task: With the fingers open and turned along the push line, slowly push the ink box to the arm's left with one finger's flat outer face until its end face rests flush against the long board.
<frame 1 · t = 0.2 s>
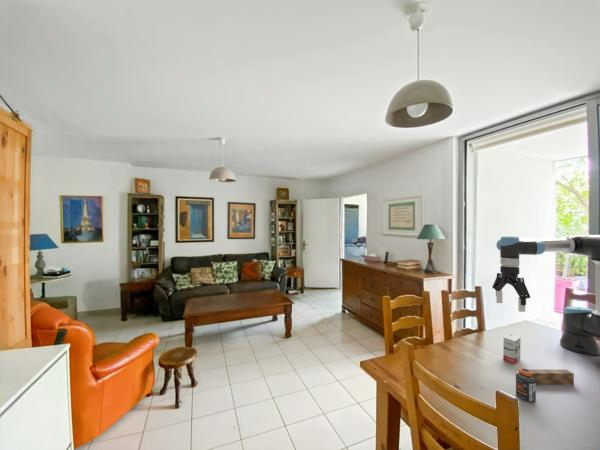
hand: (510, 307, 128), 27 cm above the table, fingers open, 13 cm apart
pill bottle: (525, 398, 99), on the table
ink box: (512, 360, 128), on the table
board: (548, 382, 109), on the table
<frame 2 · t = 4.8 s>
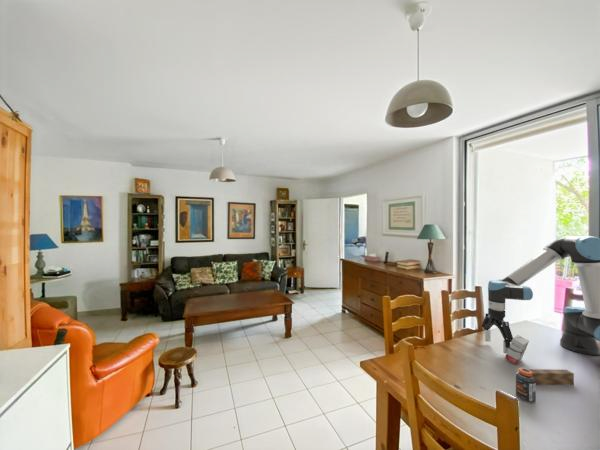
hand: (496, 346, 138), 2 cm above the table, fingers open, 13 cm apart
ink box: (513, 359, 128), on the table, touching gripper, hand
everything else where it was.
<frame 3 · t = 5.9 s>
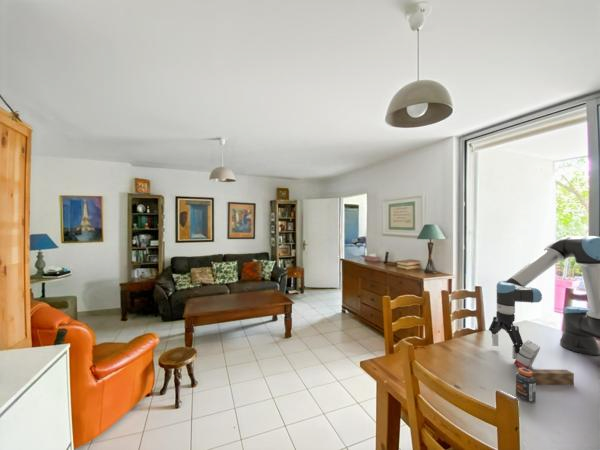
hand: (504, 351, 132), 2 cm above the table, fingers open, 13 cm apart
ink box: (522, 365, 122), on the table, touching gripper, hand
everything else where it was.
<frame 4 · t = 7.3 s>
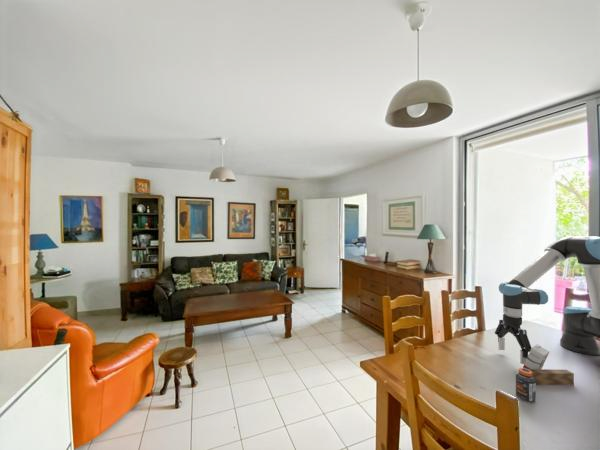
hand: (512, 356, 128), 2 cm above the table, fingers open, 13 cm apart
ink box: (531, 370, 117), on the table, touching gripper, hand
everything else where it was.
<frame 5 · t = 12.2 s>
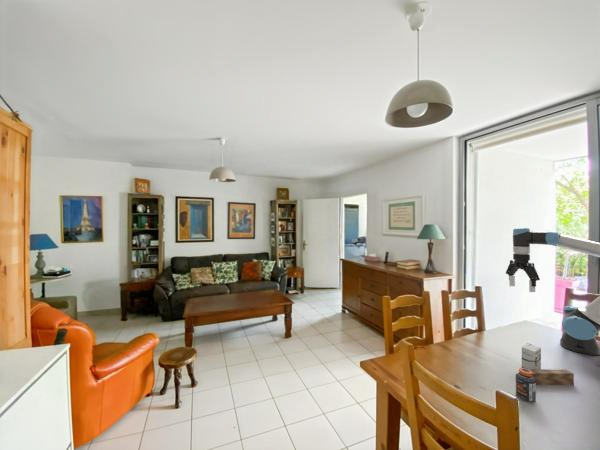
hand: (521, 288, 148), 32 cm above the table, fingers open, 13 cm apart
ink box: (531, 372, 117), on the table
everything else where it was.
at the end: ink box inside the target area on the table beside the board (2.4 cm from its centre), on the table; ink box tilted 0° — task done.
